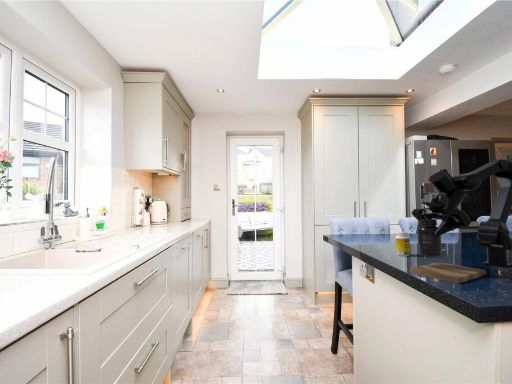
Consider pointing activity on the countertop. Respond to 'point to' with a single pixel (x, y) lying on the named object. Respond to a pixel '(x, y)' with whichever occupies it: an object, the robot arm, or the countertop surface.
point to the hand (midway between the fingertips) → (425, 234)
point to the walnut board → (448, 272)
